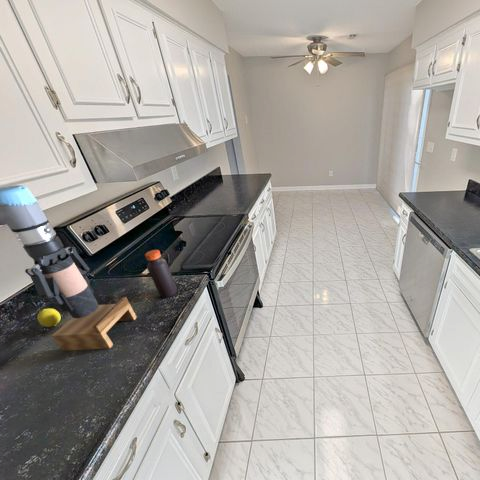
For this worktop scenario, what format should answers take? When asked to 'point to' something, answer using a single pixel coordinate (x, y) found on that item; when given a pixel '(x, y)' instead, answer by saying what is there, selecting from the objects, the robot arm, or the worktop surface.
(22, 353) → the worktop surface
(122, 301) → the shelf
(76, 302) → the travel mug
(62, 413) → the worktop surface
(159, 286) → the bottle
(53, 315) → the lemon
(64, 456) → the worktop surface
